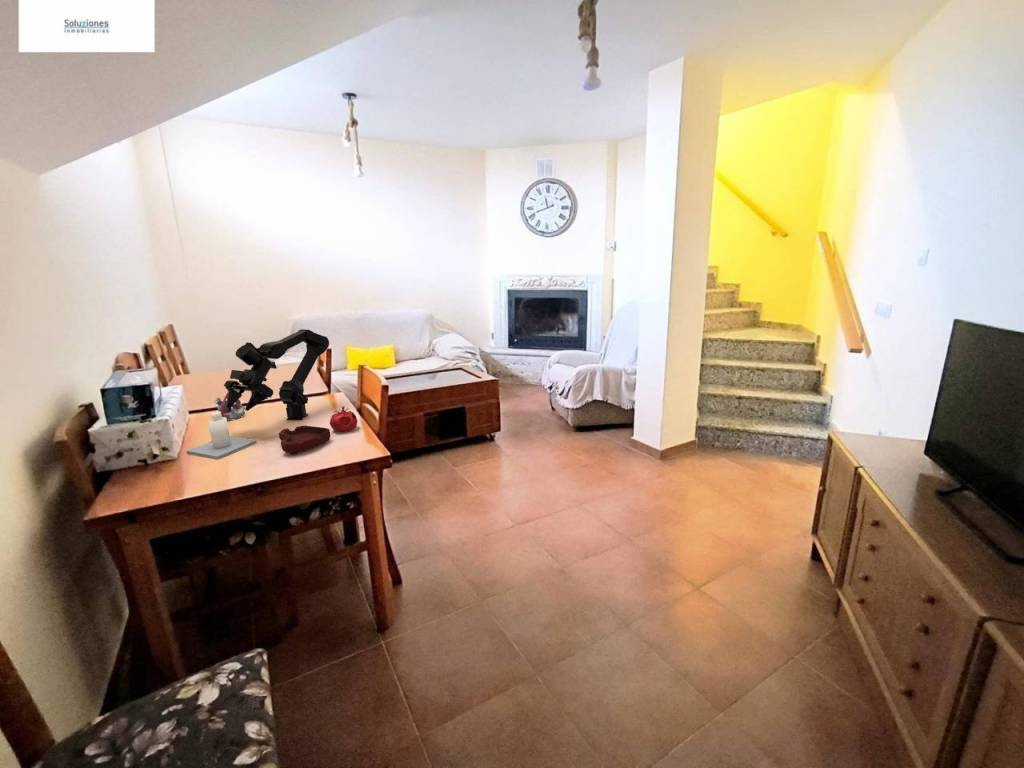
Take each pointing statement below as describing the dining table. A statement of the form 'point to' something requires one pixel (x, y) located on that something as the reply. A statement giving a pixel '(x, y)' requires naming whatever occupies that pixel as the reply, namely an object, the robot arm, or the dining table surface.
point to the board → (218, 453)
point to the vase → (219, 430)
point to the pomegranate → (343, 421)
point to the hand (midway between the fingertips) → (237, 409)
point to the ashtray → (303, 438)
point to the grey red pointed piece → (230, 412)
